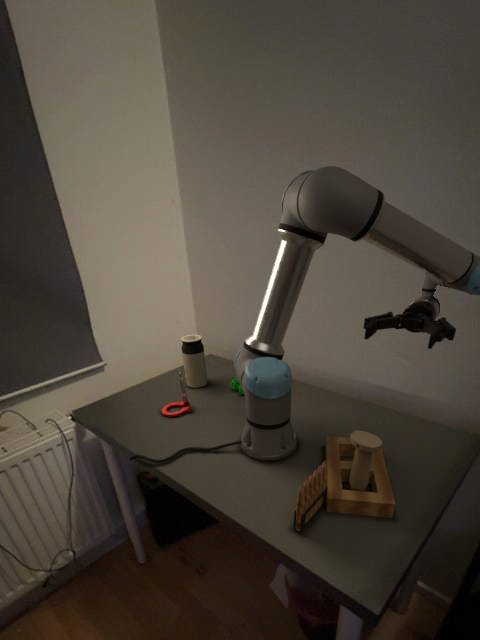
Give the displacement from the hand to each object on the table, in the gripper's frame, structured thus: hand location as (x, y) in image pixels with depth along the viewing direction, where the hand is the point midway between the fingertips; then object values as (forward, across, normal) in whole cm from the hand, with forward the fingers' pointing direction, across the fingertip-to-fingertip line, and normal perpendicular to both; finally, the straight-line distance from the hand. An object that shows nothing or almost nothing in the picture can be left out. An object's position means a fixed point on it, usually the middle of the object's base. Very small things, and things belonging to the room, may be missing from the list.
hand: (397, 337), depth 77 cm
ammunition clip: (+31, +4, -30) cm, 44 cm away
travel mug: (-6, +70, -30) cm, 76 cm away
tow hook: (+13, +62, -30) cm, 70 cm away
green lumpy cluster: (-13, +50, -30) cm, 60 cm away
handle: (+20, -2, -30) cm, 36 cm away
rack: (+15, 0, -30) cm, 34 cm away
